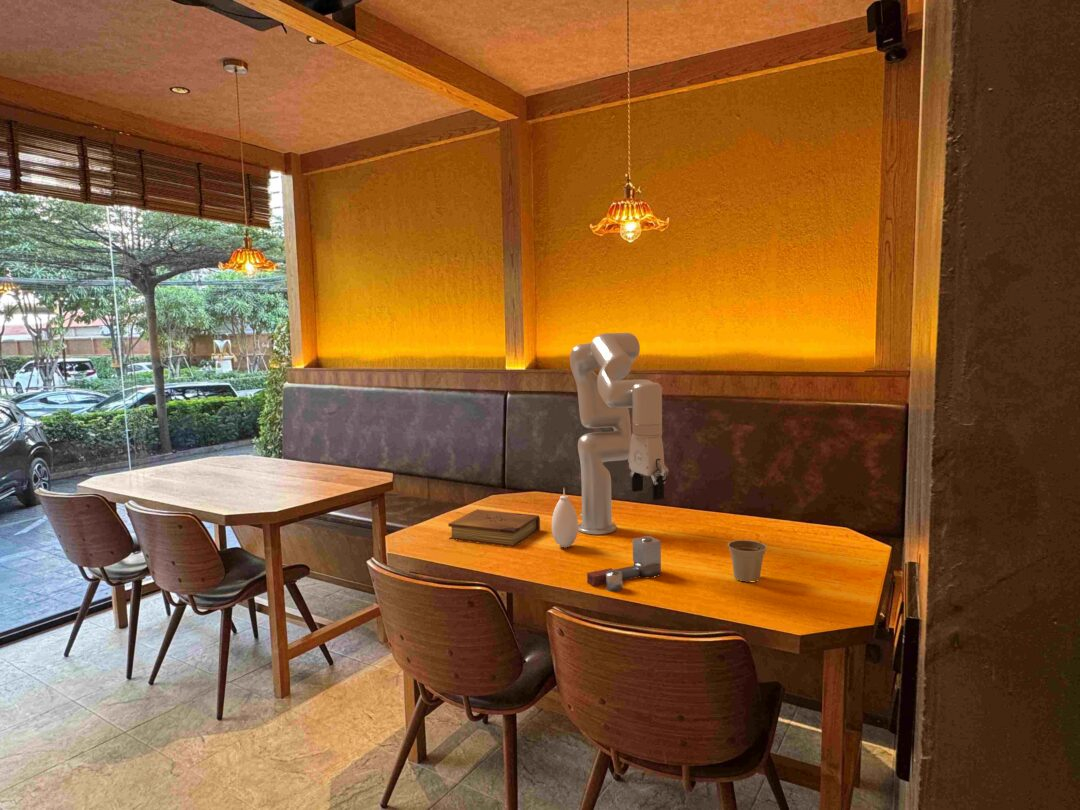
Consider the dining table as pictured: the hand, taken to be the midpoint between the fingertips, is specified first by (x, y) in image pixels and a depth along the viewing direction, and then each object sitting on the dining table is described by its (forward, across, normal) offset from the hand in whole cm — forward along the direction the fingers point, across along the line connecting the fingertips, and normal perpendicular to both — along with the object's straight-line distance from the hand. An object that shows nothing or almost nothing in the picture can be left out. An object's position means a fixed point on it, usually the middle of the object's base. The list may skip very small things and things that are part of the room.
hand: (647, 494), depth 171 cm
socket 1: (+20, +6, -14) cm, 26 cm away
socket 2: (+18, +1, -1) cm, 18 cm away
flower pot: (+21, +16, +19) cm, 32 cm away
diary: (+22, -50, -25) cm, 60 cm away
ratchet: (+21, +1, -8) cm, 22 cm away
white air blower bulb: (+21, -28, -10) cm, 37 cm away
